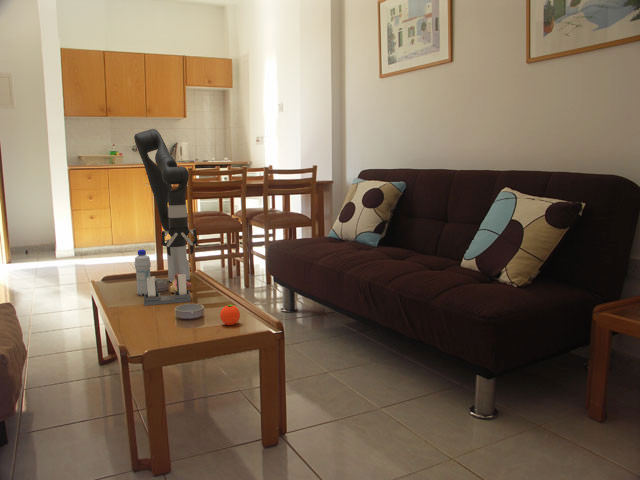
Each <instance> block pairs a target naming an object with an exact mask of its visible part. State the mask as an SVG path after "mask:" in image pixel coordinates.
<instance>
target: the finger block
mask: <svg viewBox="0 0 640 480" xmlns="http://www.w3.org/2000/svg"><path fill="white" fill-rule="evenodd" d="M186 288H187V287H186V275H185V274H180V275H178V278H177V291H178V292H179V295H184V294H187V291H188V290H186Z"/></svg>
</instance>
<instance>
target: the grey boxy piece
mask: <svg viewBox="0 0 640 480" xmlns="http://www.w3.org/2000/svg"><path fill="white" fill-rule="evenodd" d="M157 281H158V280H157V279H156V276H153V275H152V276H151V277H147V287H148V294H145V295H144V294H143V306H144V307H145V306H146V307H147V306H155V305H157V306H158V305H165V304H166V305H167V304H178V303H179V304H180V303H190V302H191V301H192V298H191V291H190V290H186V291H187V294H184V295H179V292H173V293H174V294H172V295H161V292H158V282H157Z"/></svg>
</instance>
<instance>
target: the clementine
mask: <svg viewBox="0 0 640 480" xmlns="http://www.w3.org/2000/svg"><path fill="white" fill-rule="evenodd" d="M219 317H220V318H219V319H220V321H221V322H222V323H223V324H225V325H226V326H234V325H235V324H237V323H238V322H239V320H240V318H241V312H240V310H239V308H238V307H237V306H236V305H233V304H228V305H226V306H224V307H222V309H221V311H220V314H219Z"/></svg>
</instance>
